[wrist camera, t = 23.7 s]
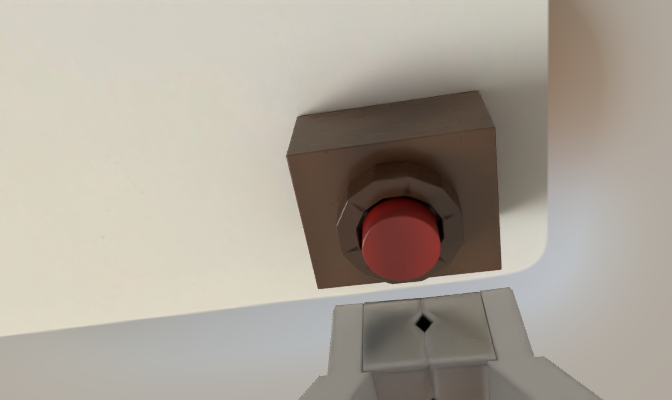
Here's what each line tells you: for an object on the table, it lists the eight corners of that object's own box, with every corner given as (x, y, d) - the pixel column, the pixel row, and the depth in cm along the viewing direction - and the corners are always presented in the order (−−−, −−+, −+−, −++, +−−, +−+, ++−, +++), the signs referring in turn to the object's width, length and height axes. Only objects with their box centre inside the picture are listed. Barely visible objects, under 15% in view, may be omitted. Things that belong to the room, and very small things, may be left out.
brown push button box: (478, 89, 38) (502, 141, 31) (486, 220, 43) (508, 290, 36) (296, 116, 40) (281, 171, 33) (324, 239, 45) (315, 309, 38)
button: (434, 192, 33) (437, 211, 32) (440, 255, 36) (444, 276, 34) (357, 202, 34) (356, 221, 32) (368, 263, 36) (368, 284, 34)
